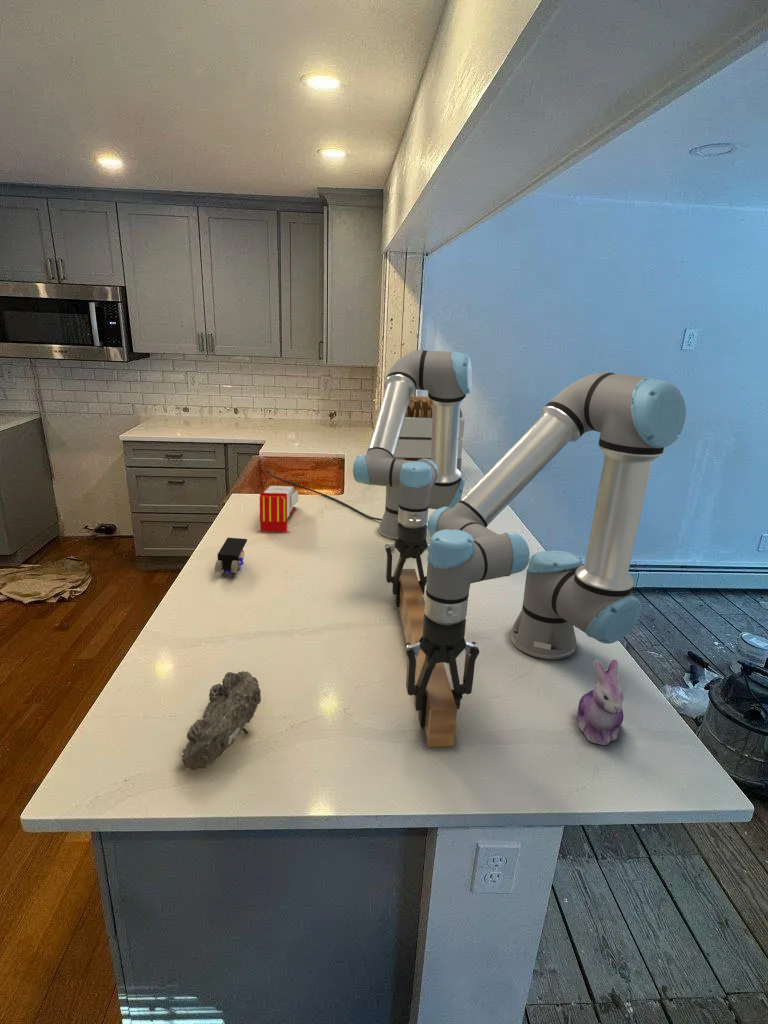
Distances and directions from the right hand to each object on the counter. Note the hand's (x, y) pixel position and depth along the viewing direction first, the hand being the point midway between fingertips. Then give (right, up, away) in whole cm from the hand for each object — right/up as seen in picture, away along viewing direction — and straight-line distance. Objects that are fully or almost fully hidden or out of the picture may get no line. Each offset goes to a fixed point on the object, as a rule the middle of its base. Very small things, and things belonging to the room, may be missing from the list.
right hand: (435, 721), depth 109 cm
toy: (-49, +38, +101) cm, 118 cm away
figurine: (+32, -2, +1) cm, 32 cm away
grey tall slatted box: (+7, +59, +166) cm, 177 cm away
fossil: (-39, 0, -4) cm, 39 cm away
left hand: (-4, +15, +43) cm, 45 cm away
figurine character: (-55, +23, +59) cm, 84 cm away
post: (-2, +7, +21) cm, 23 cm away
